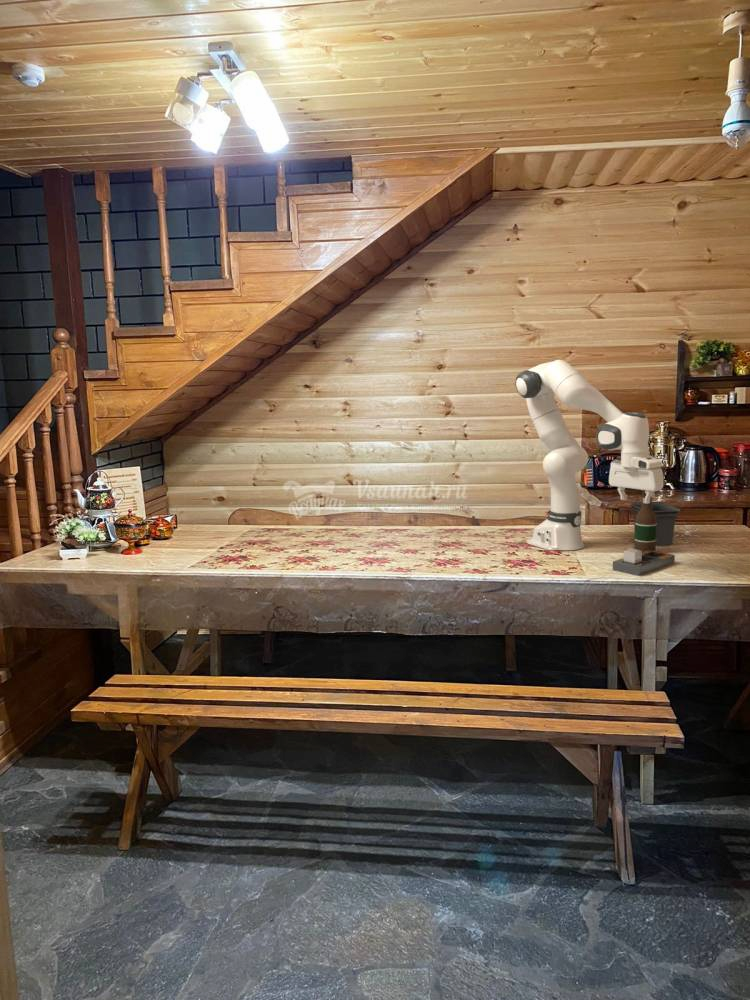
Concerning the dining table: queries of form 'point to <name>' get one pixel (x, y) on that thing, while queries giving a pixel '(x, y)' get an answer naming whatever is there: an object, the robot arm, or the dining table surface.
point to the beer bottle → (645, 527)
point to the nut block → (632, 556)
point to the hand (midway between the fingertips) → (635, 501)
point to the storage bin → (661, 521)
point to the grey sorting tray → (645, 563)
